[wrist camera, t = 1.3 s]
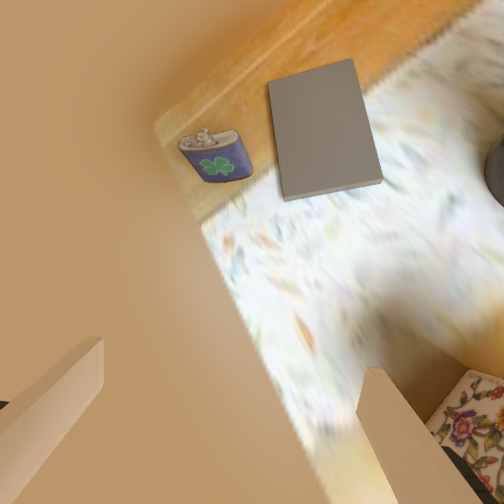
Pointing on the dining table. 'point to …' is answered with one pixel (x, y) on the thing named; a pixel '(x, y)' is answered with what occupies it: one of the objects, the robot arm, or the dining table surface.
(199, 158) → the flask
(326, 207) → the dining table surface
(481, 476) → the decorative jar
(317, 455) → the dining table surface
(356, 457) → the dining table surface
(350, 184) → the slate board
